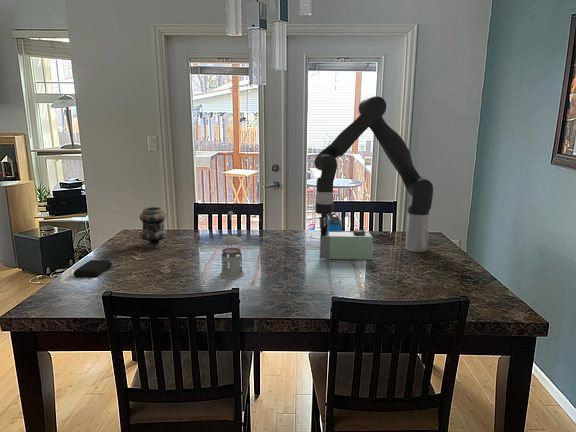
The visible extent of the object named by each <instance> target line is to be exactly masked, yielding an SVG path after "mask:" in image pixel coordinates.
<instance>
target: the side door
mask: <svg viewBox="0 0 576 432" xmlns="http://www.w3.org/2000/svg"><path fill="white" fill-rule="evenodd" d="M319 237H320V238H319V239H320V240H319V241H320V242H319V260H320V259H321V260H322V259H324V260H358V259H367V260H373V245H374V244H373V241H374V240H373V239H374V237H373V235H371V236H321V234H320V236H319ZM367 260H366V261H367Z"/></svg>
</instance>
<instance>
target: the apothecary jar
mask: <svg viewBox="0 0 576 432" xmlns="http://www.w3.org/2000/svg"><path fill="white" fill-rule="evenodd" d="M165 219H167V215H166V213H165V212H164V210H163V208H162V207H158V206H149V207H144V208H142V213H141V214H140V215H139V220H140V221H141V222H142V231H141V232H140V234H139V235H140V237H139V238H141V240H144V241H147V243H145V244H143V248H144V249H150V250H153V249H154V250H155V249H160V248H163V247H165V246H166V243H165V242H164V241H163V242H162V240H165V238H166V237H167V235H168V232H167V230H166V229H165Z"/></svg>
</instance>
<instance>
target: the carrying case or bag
mask: <svg viewBox="0 0 576 432" xmlns="http://www.w3.org/2000/svg"><path fill="white" fill-rule="evenodd" d="M112 267H113V263H112V262H111V261H110V260H108V259H107V260H106V259H105V260H104V259H91V260H88V261H87V262H86V263H84V264H82V265H81V266H79V267H78V268H76V270H74V272H73V273H72V275H73V276H74V277H75V278H92V279H93V278H97V277H98V276H100V275H102V273H104V272H106V271H107V270H108V269H109V268H112Z"/></svg>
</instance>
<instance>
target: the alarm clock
mask: <svg viewBox="0 0 576 432" xmlns="http://www.w3.org/2000/svg"><path fill="white" fill-rule="evenodd" d="M327 217H328V218H329V222H328V228H327V233H326V236H329V232H343V226H342V220H341V218H340V217H339V216H338V215H337V214H336V213H335V212H333V213H332V214H327Z"/></svg>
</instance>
